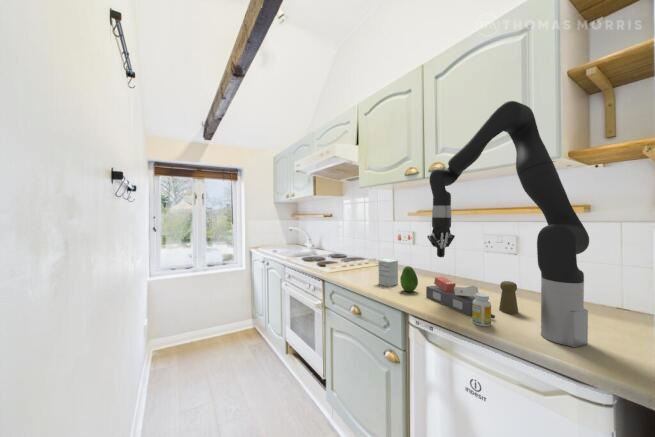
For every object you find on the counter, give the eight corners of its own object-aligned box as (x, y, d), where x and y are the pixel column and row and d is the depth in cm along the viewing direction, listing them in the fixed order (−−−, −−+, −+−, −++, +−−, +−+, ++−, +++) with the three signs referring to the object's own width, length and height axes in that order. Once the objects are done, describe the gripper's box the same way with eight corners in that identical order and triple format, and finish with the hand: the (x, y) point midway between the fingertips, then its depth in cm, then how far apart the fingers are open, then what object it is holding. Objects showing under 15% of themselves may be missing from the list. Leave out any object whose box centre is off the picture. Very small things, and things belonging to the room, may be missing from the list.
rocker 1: (454, 290, 109) (456, 283, 109) (445, 291, 108) (446, 284, 107) (442, 282, 116) (443, 276, 115) (433, 283, 114) (434, 277, 114)
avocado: (397, 291, 124) (397, 266, 124) (404, 288, 130) (404, 263, 130) (414, 295, 119) (414, 268, 119) (420, 291, 125) (420, 265, 125)
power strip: (502, 318, 92) (502, 305, 92) (484, 322, 89) (484, 308, 89) (441, 295, 119) (441, 284, 119) (426, 296, 116) (426, 286, 116)
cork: (499, 312, 98) (499, 282, 97) (498, 307, 103) (498, 279, 103) (519, 315, 95) (520, 284, 95) (517, 309, 100) (517, 280, 100)
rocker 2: (479, 294, 98) (477, 286, 99) (469, 296, 97) (467, 287, 97) (464, 293, 105) (462, 285, 105) (454, 294, 103) (453, 286, 104)
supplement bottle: (473, 325, 87) (473, 296, 86) (471, 319, 91) (471, 291, 91) (492, 328, 84) (492, 297, 84) (489, 321, 89) (489, 293, 89)
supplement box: (386, 281, 144) (386, 258, 143) (398, 284, 138) (398, 260, 138) (378, 284, 139) (377, 259, 139) (389, 286, 133) (389, 261, 133)
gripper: (435, 216, 107) (434, 259, 108) (460, 216, 111) (459, 257, 112) (422, 216, 114) (422, 256, 115) (447, 216, 118) (446, 254, 119)
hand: (440, 256), depth 113 cm, fingers closed
